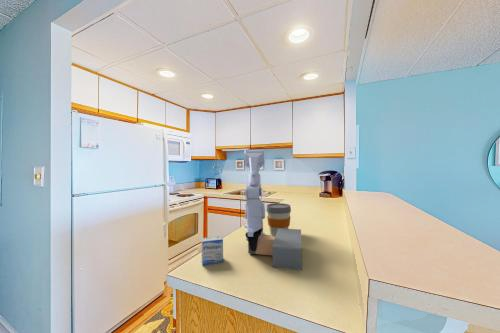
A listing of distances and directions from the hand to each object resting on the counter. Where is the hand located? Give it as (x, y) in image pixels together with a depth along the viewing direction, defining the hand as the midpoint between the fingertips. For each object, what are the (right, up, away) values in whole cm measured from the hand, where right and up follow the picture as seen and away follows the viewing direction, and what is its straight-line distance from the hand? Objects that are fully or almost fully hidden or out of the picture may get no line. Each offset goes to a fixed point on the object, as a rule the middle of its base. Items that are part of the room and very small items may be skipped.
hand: (254, 248), depth 83 cm
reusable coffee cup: (+13, -2, +21) cm, 25 cm away
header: (+13, -2, -3) cm, 14 cm away
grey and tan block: (+5, -2, -1) cm, 5 cm away
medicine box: (-16, -3, -6) cm, 18 cm away
